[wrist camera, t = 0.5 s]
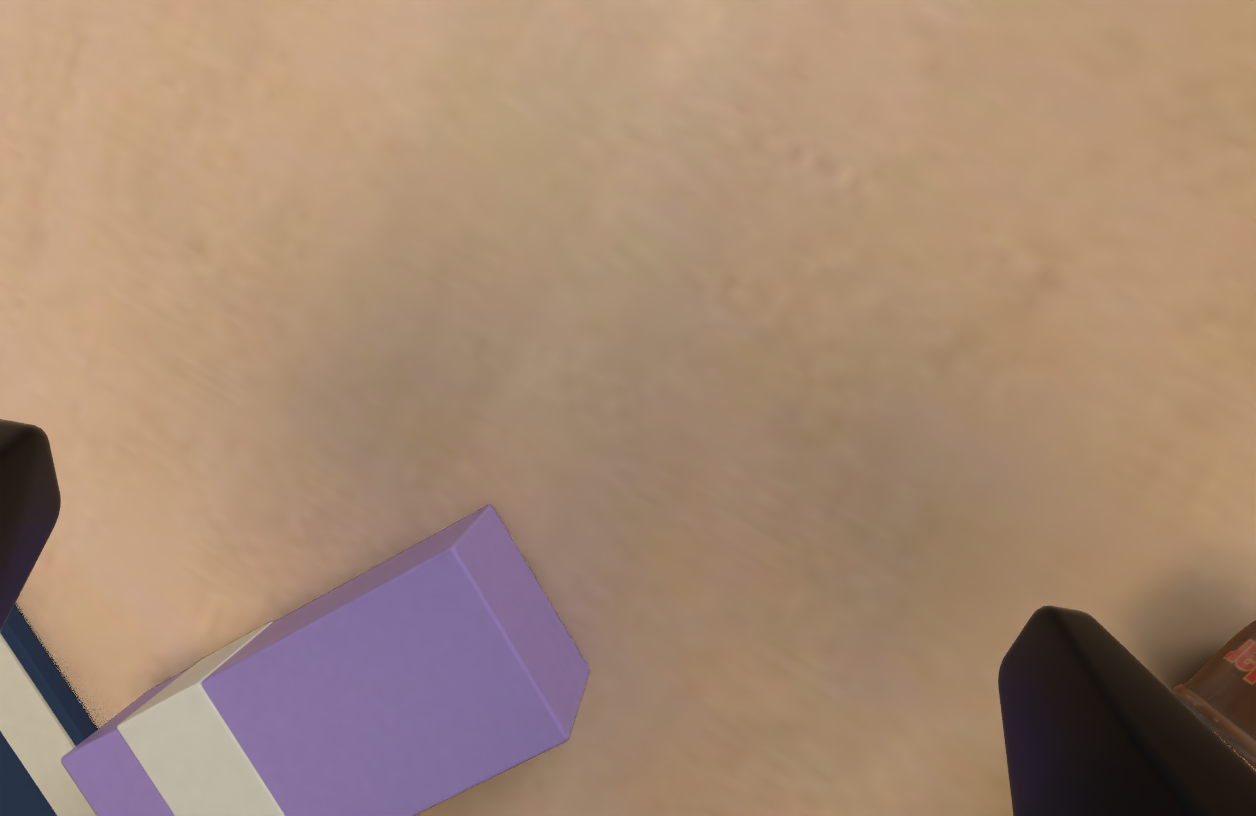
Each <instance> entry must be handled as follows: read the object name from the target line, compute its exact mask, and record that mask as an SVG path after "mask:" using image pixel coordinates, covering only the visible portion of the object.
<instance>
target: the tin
mask: <svg viewBox="0 0 1256 816" xmlns="http://www.w3.org/2000/svg"><path fill="white" fill-rule="evenodd" d="M1172 692H1173V694H1174V695H1175V696H1176V697H1177V698H1178V699H1179V700H1180V701H1181V702H1182V703H1184V704H1185V705H1186V706H1187V707H1188V708H1189V709H1190V710H1191V711H1192V712H1193V713H1194V714H1195V715H1196V716H1197V717H1198V718H1199V719H1200V720H1201V721H1202V722H1204V723H1205V724H1206V725H1207V726H1208V727H1209V728H1210V729H1212V730H1213V731H1214V732H1216V733H1217V734H1218V735H1219V736H1220V737H1221V738H1222V739H1223V740H1224V741H1225V742H1227V743H1228V744H1229V745H1230V746H1231V747H1232V748H1233V749H1234V750H1235V751H1236V752H1238V753H1239V754H1240V755H1241V756H1242V757H1243V758H1245V759H1246V760H1247V761H1248V762H1249V763H1250V764H1251V765H1253V766H1254V767H1255V768H1256V621H1254V622H1252V623H1251V624H1249V625H1248V626H1247V627H1245V628H1244V629H1243V630H1241V631H1240V632H1239V633H1238V634H1237V635H1235V636H1234V637H1233V638H1232V639H1231V640H1230V641H1229V642H1228V643H1227V644H1226V645H1225V646H1224V647H1223V648H1222V649H1221V650H1220V651H1219V652H1218V653H1217V654H1216V655H1214V656H1213V657H1212V658H1211V659H1210V660H1209V661H1208V662H1207V663H1206V664H1205V665H1204V666H1203V667H1202V668H1201V669H1200V670H1199V671H1198V672H1197V673H1196V674H1195V675H1194V676H1193V677H1192V678H1191V679H1190V680H1189V681H1188V682H1186V683H1185V684H1184V685H1177V686H1175V687H1174V688H1173V689H1172Z"/></svg>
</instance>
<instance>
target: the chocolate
mask: <svg viewBox="0 0 1256 816" xmlns="http://www.w3.org/2000/svg"><path fill="white" fill-rule="evenodd" d="M589 673H590V669H589V667H588V666H587V664H586V662H585V661H584V659H583V657H582V656H581V654H580V652H579V651H578V649H577V647H576V646H575V644H574V642H573V641H572V639H571V637H570V636H569V634H568V632H567V631H566V629H565V627H564V625H563V624H562V622H561V620H560V619H559V617H558V615H557V614H556V612H555V610H554V609H553V607H552V605H551V604H550V602H549V600H548V599H547V597H546V595H545V594H544V592H543V590H542V589H541V587H540V585H539V583H538V582H537V580H536V578H535V577H534V575H533V573H532V572H531V570H530V568H529V567H528V565H527V563H526V562H525V560H524V558H523V557H522V555H521V553H520V552H519V550H518V548H517V546H516V545H515V543H514V541H513V540H512V538H511V536H510V535H509V533H508V531H507V530H506V528H505V526H504V525H503V523H502V521H501V520H500V518H499V516H498V515H497V513H496V511H495V510H494V508H493V507H492V506H491V505H487V506H486V507H484V508H482V509H480V510H478V511H477V512H475V513H473V514H471V515H469V516H467V517H466V518H464V519H462V520H460V521H458V522H456V523H455V524H453V525H451V526H449V527H447V528H445V529H444V530H442V531H440V532H438V533H436V534H434V535H433V536H431V537H429V538H427V539H425V540H423V541H422V542H420V543H418V544H416V545H414V546H412V547H411V548H409V549H407V550H405V551H403V552H401V553H400V554H398V555H396V556H394V557H392V558H390V559H389V560H387V561H385V562H383V563H381V564H379V565H378V566H376V567H374V568H372V569H370V570H368V571H367V572H365V573H363V574H361V575H359V576H358V577H356V578H354V579H352V580H350V581H348V582H347V583H345V584H343V585H341V586H339V587H337V588H336V589H334V590H332V591H330V592H328V593H326V594H325V595H323V596H321V597H319V598H317V599H315V600H314V601H312V602H310V603H308V604H306V605H304V606H303V607H301V608H299V609H297V610H295V611H293V612H292V613H290V614H288V615H286V616H284V617H282V618H281V619H279V620H277V621H275V622H272V621H271V622H268V623H267V624H265V625H263V626H261V627H259V628H258V629H256V630H254V631H252V632H250V633H248V634H247V635H245V636H243V637H241V638H239V639H237V640H236V641H234V642H232V643H230V644H228V645H226V646H225V647H223V648H221V649H219V650H217V651H215V652H214V653H212V654H210V655H208V656H206V657H204V658H203V659H201V660H200V661H198V662H197V663H196V664H195V665H193V666H192V667H191V668H189V669H187V670H185V671H184V672H182V673H180V674H178V675H176V676H174V677H173V678H171V679H169V680H167V681H165V682H163V683H162V684H160V685H158V686H156V687H154V688H152V689H151V690H149V691H147V692H146V693H145V694H143V695H142V696H141V697H140V698H138V699H137V700H136V701H134V702H133V703H132V704H130V705H129V706H128V707H127V708H125V709H124V710H123V711H121V712H120V713H119V714H118V715H116V716H115V717H114V718H112V719H111V720H110V721H108V722H107V723H106V724H105V725H103V726H102V727H101V728H99V729H98V730H97V731H95V732H94V733H93V734H92V735H90V736H89V737H88V738H86V739H85V740H84V741H82V742H81V743H80V744H79V745H77V746H76V747H75V748H73V749H72V750H71V751H69V752H68V753H67V754H66V755H64V756H63V757H62V759H61V763H62V765H63V766H64V768H65V769H66V771H67V772H68V774H69V775H70V777H71V778H72V780H73V781H74V783H75V784H76V786H77V787H78V789H79V790H80V792H81V793H82V795H83V796H84V797H85V799H86V800H87V802H88V803H89V805H90V806H91V808H92V809H93V811H94V812H95V814H96V815H97V816H415V815H417V814H419V813H421V812H423V811H425V810H427V809H429V808H431V807H433V806H435V805H437V804H439V803H441V802H443V801H446V800H448V799H450V798H452V797H454V796H456V795H458V794H460V793H462V792H464V791H466V790H468V789H470V788H472V787H474V786H476V785H478V784H480V783H482V782H484V781H486V780H489V779H491V778H493V777H495V776H497V775H499V774H501V773H503V772H505V771H507V770H509V769H511V768H513V767H515V766H517V765H519V764H521V763H523V762H525V761H527V760H530V759H532V758H534V757H536V756H538V755H540V754H542V753H544V752H546V751H548V750H550V749H552V748H554V747H556V746H558V745H560V744H562V743H564V742H566V741H568V739H569V737H570V734H571V731H572V728H573V725H574V721H575V718H576V715H577V712H578V708H579V705H580V702H581V699H582V696H583V692H584V689H585V686H586V683H587V680H588V676H589Z"/></svg>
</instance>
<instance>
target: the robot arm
mask: <svg viewBox="0 0 1256 816" xmlns="http://www.w3.org/2000/svg"><path fill="white" fill-rule="evenodd" d="M60 501H61V499H60V491H59V486H58V482H57V477H56V472H55V468H54V463H53V458H52V453H51V449H50V444H49V440H48V437H47V435H46V434H45V432H44V431H43V430H42V429H41V428H39V427H37V426H35V425H30V424H25V423H19V422H13V421H8V420H2V419H0V632H1V630H2V628H3V626H4V624H5V622H6V620H7V618H8V616H9V614H10V612H11V610H12V608H13V606H14V604H15V602H16V600H17V598H18V596H19V594H20V592H21V591H22V589H23V587H24V585H25V583H26V581H27V579H28V577H29V575H30V573H31V571H32V569H33V567H34V565H35V563H36V561H37V559H38V557H39V555H40V553H41V551H42V549H43V548H44V546H45V544H46V542H47V540H48V538H49V536H50V534H51V532H52V530H53V528H54V526H55V524H56V521H57V518H58V515H59V511H60ZM998 685H999V695H1000V704H1001V712H1002V721H1003V729H1004V738H1005V747H1006V755H1007V764H1008V772H1009V781H1010V789H1011V798H1012V807H1013V815H1014V816H1256V772H1255V771H1254V770H1253V769H1252V768H1251V767H1250V766H1249V765H1248V764H1247V763H1246V762H1245V761H1244V760H1242V759H1241V758H1240V757H1239V756H1238V755H1237V754H1236V753H1235V752H1234V751H1233V750H1232V749H1231V748H1230V747H1229V746H1228V745H1227V744H1226V743H1225V742H1224V741H1222V740H1221V739H1220V738H1219V737H1218V736H1217V735H1216V734H1215V733H1214V732H1213V731H1212V730H1211V729H1210V728H1209V727H1208V726H1207V725H1206V724H1205V723H1204V722H1202V721H1201V720H1200V719H1199V718H1198V717H1197V716H1196V715H1195V714H1194V713H1193V712H1192V711H1191V710H1190V709H1189V708H1188V707H1187V706H1186V705H1185V704H1184V703H1182V702H1181V701H1180V700H1179V699H1178V698H1177V697H1176V696H1175V695H1174V694H1173V693H1172V692H1171V691H1170V690H1169V689H1168V688H1167V687H1166V686H1165V685H1164V684H1163V683H1161V682H1160V681H1159V680H1158V679H1157V678H1156V677H1155V676H1154V675H1153V674H1152V673H1151V672H1150V671H1149V670H1148V669H1147V668H1146V667H1145V666H1144V665H1143V664H1141V663H1140V662H1139V661H1138V660H1137V659H1136V658H1135V657H1134V656H1133V655H1132V654H1131V653H1130V652H1129V651H1128V650H1127V649H1126V648H1125V647H1124V646H1123V645H1121V644H1120V643H1119V642H1118V641H1117V640H1116V639H1115V638H1114V637H1113V636H1112V635H1111V634H1110V633H1109V632H1108V631H1107V630H1106V629H1105V628H1104V627H1103V626H1101V625H1100V624H1099V623H1098V622H1097V621H1096V620H1095V619H1094V618H1093V617H1092V616H1090V615H1089V614H1087V613H1084V612H1082V611H1077V610H1072V609H1066V608H1061V607H1055V606H1043V607H1041V608H1040V609H1038V610H1036V611H1035V612H1034V614H1033V615H1032V616H1031V618H1030V619H1029V621H1028V622H1027V624H1026V625H1025V627H1024V628H1023V630H1022V631H1021V633H1020V634H1019V636H1018V637H1017V639H1016V640H1015V642H1014V643H1013V645H1012V646H1011V648H1010V649H1009V651H1008V652H1007V654H1006V655H1005V657H1004V659H1003V661H1002V663H1001V666H1000V670H999V678H998Z"/></svg>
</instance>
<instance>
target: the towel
mask: <svg viewBox="0 0 1256 816" xmlns="http://www.w3.org/2000/svg"><path fill="white" fill-rule="evenodd" d="M95 731H97V729H96V727H95V726H94V724H93V723H92V721H91V720H90V718H89V717H88V715H87V713H86V712H85V710H84V709H83V707H82V706H81V704H80V703H79V701H78V700H77V698H76V697H75V695H74V694H73V692H72V691H71V689H70V688H69V686H68V685H67V683H66V682H65V680H64V679H63V677H62V676H61V674H60V673H59V671H58V670H57V668H56V667H55V665H54V664H53V662H52V661H51V659H50V658H49V656H48V654H47V653H46V651H45V650H44V648H43V647H42V645H41V644H40V642H39V641H38V639H37V638H36V636H35V635H34V633H33V632H32V630H31V629H30V627H29V626H28V624H27V623H26V621H25V620H24V618H23V617H22V615H21V614H20V612H19V611H18V609H17V608H16V606H15V605H14V606H13V608H12V610H11V612H10V614H9V616H8V618H7V620H6V622H5V624H4V626H3V628H2V630H1V632H0V816H97V815H96V814H95V812H94V811H93V809H92V808H91V806H90V805H89V803H88V802H87V800H86V799H85V797H84V796H83V795H82V793H81V792H80V790H79V789H78V787H77V786H76V784H75V783H74V781H73V780H72V778H71V777H70V775H69V774H68V772H67V771H66V769H65V768H64V766H63V765H62V763H61V759H62V757H63V756H64V755H66V754H67V753H68V752H69V751H71V750H72V749H73V748H75V747H76V746H77V745H79V744H80V743H81V742H82V741H84V740H85V739H86V738H88V737H89V736H90V735H92V734H93V733H94V732H95Z"/></svg>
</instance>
